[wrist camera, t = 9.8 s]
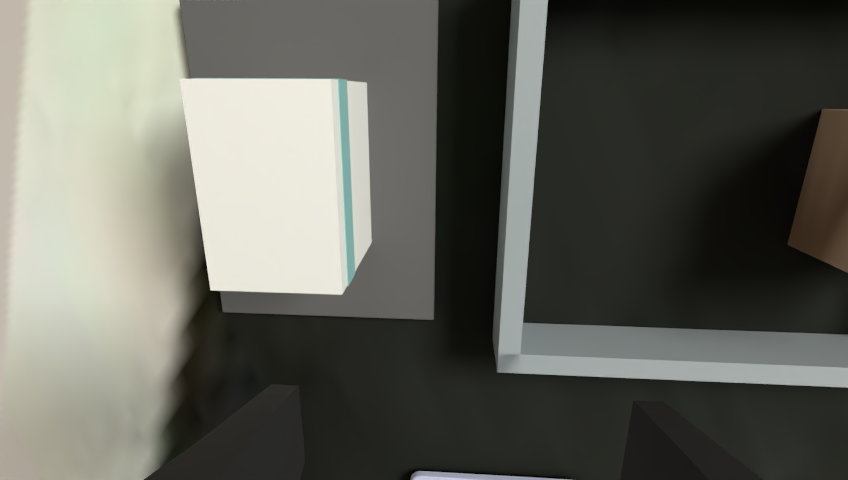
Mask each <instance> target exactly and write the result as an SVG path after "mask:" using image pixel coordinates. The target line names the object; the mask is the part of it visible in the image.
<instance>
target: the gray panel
mask: <svg viewBox="0 0 848 480" xmlns="http://www.w3.org/2000/svg"><path fill="white" fill-rule="evenodd" d="M180 7H181V14H182V21H183V29H184V36H185V43H186V50H187V57H188V65H189V72H190V79H193V78H307V79H347V81H355V82H366V83H367V105H368V138H369V171H370V204H371V237H372V243H371V244H370V246H369V248H368V250H367V252H366V253H365V255H364V257H363V259H362V260H361V262H360V264H359V266H358V268H357V269H356V271H355V275H354V277H353V279H352V281H351V283H350V284H349V286H347V287H346V289H345V291H344V292H343V294H342V295H335V294H305V293H275V292H244V291H220V295H221V302H222V310H223V312H234V313H261V314H289V315H316V316H343V317H371V318H398V319H426V320H434V284H435V211H436V138H437V65H438V0H180Z"/></svg>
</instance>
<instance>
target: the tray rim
mask: <svg viewBox="0 0 848 480" xmlns="http://www.w3.org/2000/svg"><path fill="white" fill-rule="evenodd" d="M547 7H548V0H512V3H511V21H510V38H509V56H508V73H507V91H506V109H505V126H504V144H503V161H502V179H501V197H500V214H499V232H498V249H497V267H496V285H495V302H494V320H493V337H492V339H493V346H494V353H495V360H496V367H497V372H501V373H524V374H548V375H571V376H594V377H617V378H640V379H664V380H687V381H710V382H733V383H756V384H780V385H803V386H826V387H848V335H842V334H814V333H787V332H759V331H732V330H705V329H677V328H650V327H622V326H595V325H567V324H540V323H523V314H524V301H525V288H526V275H527V262H528V250H529V237H530V224H531V211H532V199H533V186H534V173H535V160H536V147H537V135H538V122H539V109H540V96H541V84H542V71H543V58H544V45H545V32H546V20H547Z"/></svg>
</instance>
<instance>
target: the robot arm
mask: <svg viewBox="0 0 848 480" xmlns="http://www.w3.org/2000/svg"><path fill="white" fill-rule="evenodd" d="M304 464H305V452H304V441H303V429H302V418H301V407H300V396H299V386H297V385H275V384H272V385H270V386H269V387H267V388H266V389H265V390H263V391H262V392H261V393H259V394H258V395H257V396H255V397H254V398H253V399H252V400H250V401H249V402H248V403H247V404H245V405H244V406H243V407H242V408H240V409H239V410H238V411H236V412H235V413H234V414H233V415H231V416H230V417H229V418H228V419H226V420H225V421H224V422H222V423H221V424H220V425H218V426H217V427H216V428H215V429H213V430H212V431H211V432H209V433H208V434H207V435H205V436H204V437H203V438H202V439H200V440H199V441H198V442H196V443H195V444H194V445H192V446H191V447H189V448H188V449H187V450H185V451H184V452H182V453H181V454H180V455H178V456H177V457H175V458H174V459H172V460H171V461H170V462H168V463H167V464H165V465H164V466H163V467H161V468H160V469H158V470H157V471H156V472H154V473H153V474H151V475H150V476H148V477H147V478H146V479H144V480H300V478H301V474H302V471H303V467H304ZM620 479H621V480H763V479H762V478H761V477H759V476H758V475H757V474H755V473H754V472H753V471H751V470H750V469H749V468H747V467H746V466H745V465H744V464H742V463H741V462H740V461H738V460H737V459H736V458H734V457H733V456H732V455H731V454H729V453H728V452H727V451H726V450H724V449H723V448H722V447H720V446H719V445H718V444H717V443H715V442H714V441H713V440H712V439H710V438H709V437H708V436H707V435H705V434H704V433H703V432H702V431H700V430H699V429H698V428H696V427H695V426H694V425H693V424H691V423H690V422H689V421H688V420H686V419H685V418H684V417H682V416H681V415H680V414H679V413H677V412H676V411H675V410H673V409H672V408H671V407H669V406H668V405H666V404H665V403H663V402H644V401H633V407H632V413H631V419H630V425H629V431H628V437H627V443H626V448H625V454H624V460H623V466H622V472H621V478H620ZM410 480H571V479H554V478H536V477H518V476H501V475H483V474H465V473H448V472H430V471H417V472H415V473H413V474H412V475H411V479H410Z"/></svg>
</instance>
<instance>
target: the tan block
mask: <svg viewBox="0 0 848 480" xmlns="http://www.w3.org/2000/svg"><path fill="white" fill-rule="evenodd" d="M787 245H789V246H791V247H793V248H795V249H797V250H800V251H802V252H804V253H806V254H808V255H810V256H813V257H815V258H817V259H819V260H821V261H823V262H825V263H828V264H830V265H832V266H834V267H836V268H838V269H840V270H843V271H845V272H847V273H848V110H847V109H822V113H821V116H820V120H819V124H818V128H817V132H816V136H815V140H814V143H813V147H812V151H811V155H810V159H809V163H808V167H807V171H806V174H805V178H804V182H803V186H802V190H801V194H800V198H799V201H798V205H797V209H796V213H795V217H794V221H793V225H792V228H791V232H790V236H789V240H788V244H787Z"/></svg>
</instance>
